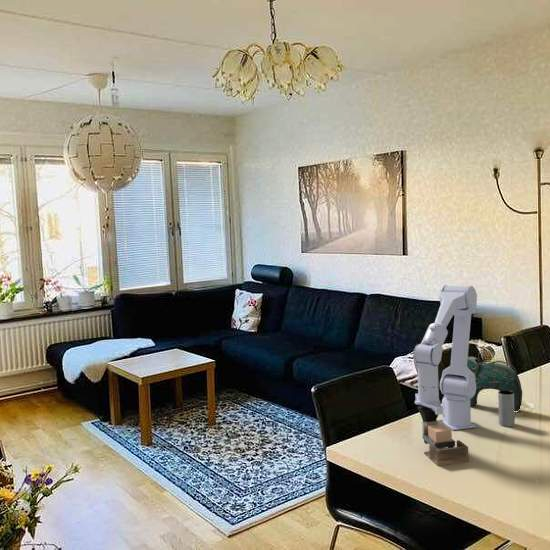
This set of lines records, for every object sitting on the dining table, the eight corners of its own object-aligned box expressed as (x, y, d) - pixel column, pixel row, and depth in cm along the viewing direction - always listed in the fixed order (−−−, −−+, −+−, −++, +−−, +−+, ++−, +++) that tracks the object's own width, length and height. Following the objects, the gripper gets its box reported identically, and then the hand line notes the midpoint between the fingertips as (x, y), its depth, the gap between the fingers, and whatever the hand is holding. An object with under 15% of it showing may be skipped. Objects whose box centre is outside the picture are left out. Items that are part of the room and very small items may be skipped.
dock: (424, 453, 164) (423, 439, 164) (454, 449, 166) (453, 435, 165) (437, 465, 156) (437, 450, 155) (468, 461, 157) (468, 446, 157)
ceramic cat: (459, 406, 202) (457, 349, 200) (464, 401, 208) (463, 345, 206) (520, 414, 191) (519, 354, 189) (524, 408, 196) (523, 350, 195)
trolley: (422, 442, 168) (422, 421, 168) (442, 440, 169) (441, 419, 169) (434, 453, 160) (434, 431, 160) (455, 450, 161) (454, 429, 161)
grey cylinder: (514, 422, 184) (514, 390, 183) (514, 427, 180) (513, 394, 179) (499, 421, 186) (498, 389, 185) (498, 426, 182) (497, 393, 181)
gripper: (405, 380, 175) (406, 424, 177) (425, 393, 161) (427, 441, 162) (427, 377, 177) (428, 421, 178) (449, 391, 162) (451, 438, 164)
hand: (429, 431), depth 170 cm, fingers closed
